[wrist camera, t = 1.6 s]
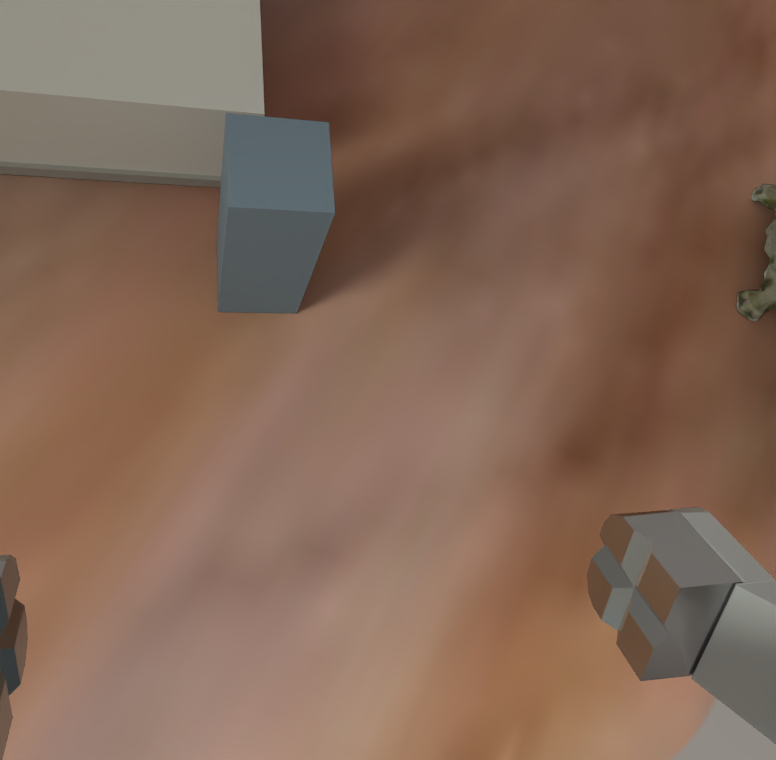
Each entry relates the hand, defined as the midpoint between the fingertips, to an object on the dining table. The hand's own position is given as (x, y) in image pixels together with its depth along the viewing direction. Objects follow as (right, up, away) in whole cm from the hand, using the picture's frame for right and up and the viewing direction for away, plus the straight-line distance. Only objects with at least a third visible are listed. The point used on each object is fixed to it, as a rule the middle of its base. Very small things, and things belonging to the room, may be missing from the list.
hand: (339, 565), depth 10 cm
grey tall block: (-7, +9, +32) cm, 34 cm away
